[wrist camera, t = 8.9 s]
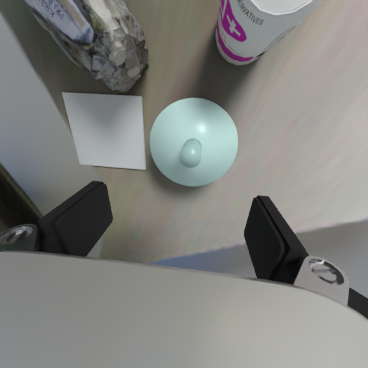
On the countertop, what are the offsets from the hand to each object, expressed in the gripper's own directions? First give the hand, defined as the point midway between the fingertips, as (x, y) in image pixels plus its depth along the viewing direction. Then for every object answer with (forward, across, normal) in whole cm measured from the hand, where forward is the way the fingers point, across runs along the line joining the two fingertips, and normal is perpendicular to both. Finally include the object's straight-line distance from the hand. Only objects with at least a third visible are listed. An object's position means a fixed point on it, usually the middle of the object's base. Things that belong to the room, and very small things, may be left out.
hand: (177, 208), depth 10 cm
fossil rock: (+24, +15, -18) cm, 34 cm away
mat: (+24, +17, 0) cm, 29 cm away
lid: (+18, 0, 0) cm, 18 cm away
